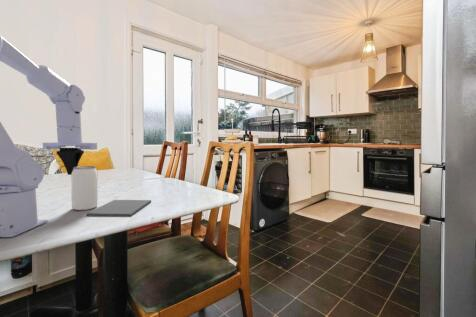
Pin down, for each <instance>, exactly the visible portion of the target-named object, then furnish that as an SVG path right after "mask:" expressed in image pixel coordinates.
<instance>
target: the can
mask: <svg viewBox="0 0 476 317" xmlns="http://www.w3.org/2000/svg"><path fill="white" fill-rule="evenodd" d="M73 168H74V169H73V171H72V175H70V176H71V178H70V179H71V208H72V209H73V211H89V210H94V209H97V208H98V205H99V203H98V201H99V197H98V196H99V191H98V190H99V189H98V188H99V186H98V185H99V183H98V182H99V181H98V180H99V177H98V176H99V175H98V171H97V166H92V165H86V166H85V165H81V166H80V165H79V166H77V167H73Z"/></svg>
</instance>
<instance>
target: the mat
mask: <svg viewBox="0 0 476 317" xmlns="http://www.w3.org/2000/svg"><path fill="white" fill-rule="evenodd" d="M150 203H152V200H151V199H113V200H111V201H109V202H107V203H106V204H103V205H100V206H98V207H96V208H93V209H91V211H88V212H86V216H87V217H88V216H89V217H90V216H91V217H92V216H94V217H97V216H98V217H100V216H101V217H103V216H104V217H132V216H134V215H135V214H136V213H137V212H139V211H141V210H142V209H144V208H145V207H147V205H149V204H150Z"/></svg>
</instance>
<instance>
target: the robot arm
mask: <svg viewBox="0 0 476 317" xmlns="http://www.w3.org/2000/svg"><path fill="white" fill-rule="evenodd" d="M0 62H2V63H3V64H5V65H6V66H9V67H10V68H12V69H14V70H15V71H17V72H19V73H21V74H23V75H24V76H25V77H26V81H27V83H28V84H30V85H31V86H32V87H34V88H36V89H37V90H39V91H40V92H42V93H44V94H46V96H47V97H48V98H49V100H50V102H51V103H52V104H53V105H55V117H56V118H55V119H56V134H57V135H56V136H57V142H42V150H56V155H57V156H58V157H59V158H60V160H61V161H62V163H63V166H64V168H65V170H66V173H67V176H68V175H69V176H71V175H72V171H73V169H74V168H73V167H79V166H78V165H79V162H80V160H81V158H82V156H83V155H84V153H85V151H86V150H90V151H91V150H92V151H95V150H98V142H83V141H82V140H83V139H82V138H83V137H82V121H81V120H82V119H81V118H82V117H81V112H82V111H83V105H84V103H85V100H86V96H85V95H84V93H83V90H82V89H81V88H80V87H78V86H77V85H75V84H70V83H69V82H67V80H66V79H64V78H62V77H61V76H59V75H58V74H57V73H56V72H54V71H53V68H51V67H50V66H46V65H41V64H40V65H39V64H38V65H37V64H36V63H34V62H33V61H32V60H31V59H30V58H29V57H27V56H26V55H25V54H23V52H21V51H20V50H19V49H17V47H15V46H14V45H13V44H12V43H11V42H9V41H8V40H6V39H5V37H3V36H2V35H1V33H0ZM57 150H58V151H57ZM44 176H45V170H44V168H43V166H42V165H41V163H40V162H38V161H36V160H35V159H34V158H33V157H32V155H31V153H29V152H28V151H26V150H24V149H22V148H21V147H18V146H16V144H15V143H14V141H13V140H12V139H11V137H10V135H9V133H8V132H7V130H6V129H5V127H4V125H3V124H2V122H1V121H0V238H12V237H16V236H17V235H20V234H22V233H25V232H27V231H29V230H31V229H34V228H36V227H39V226H41V225H44V224H46V223H48V219H38V207H37V206H38V205H37V189H38V188H39V185H40V184H41V183H42V181H43V179H44Z"/></svg>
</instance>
